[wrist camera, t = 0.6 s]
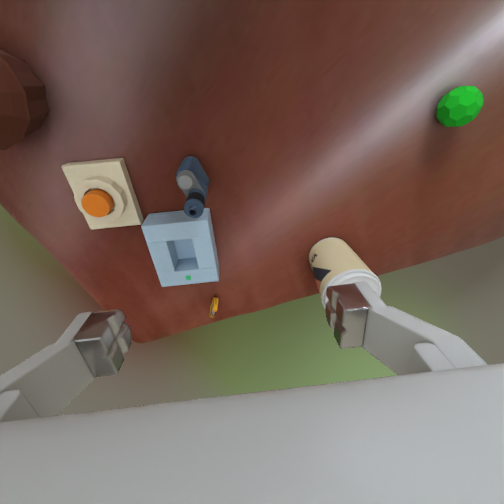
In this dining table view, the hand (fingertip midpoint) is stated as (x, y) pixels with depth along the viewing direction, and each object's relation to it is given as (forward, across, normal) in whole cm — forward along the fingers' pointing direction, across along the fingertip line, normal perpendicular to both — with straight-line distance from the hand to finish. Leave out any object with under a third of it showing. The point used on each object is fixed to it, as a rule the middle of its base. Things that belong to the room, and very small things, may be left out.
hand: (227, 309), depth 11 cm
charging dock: (+34, +9, +12) cm, 38 cm away
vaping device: (+33, +5, 0) cm, 34 cm away
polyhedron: (+33, -32, -6) cm, 46 cm away
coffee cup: (+35, -16, +18) cm, 43 cm away
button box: (+33, +19, +2) cm, 39 cm away
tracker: (+36, +7, +27) cm, 46 cm away
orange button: (+30, +19, +2) cm, 36 cm away
